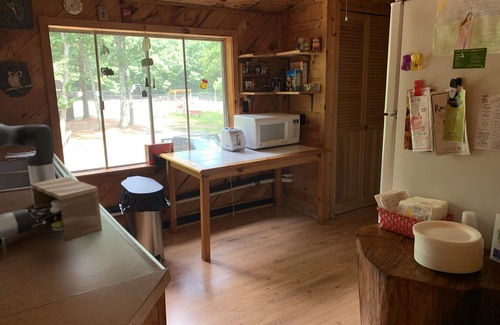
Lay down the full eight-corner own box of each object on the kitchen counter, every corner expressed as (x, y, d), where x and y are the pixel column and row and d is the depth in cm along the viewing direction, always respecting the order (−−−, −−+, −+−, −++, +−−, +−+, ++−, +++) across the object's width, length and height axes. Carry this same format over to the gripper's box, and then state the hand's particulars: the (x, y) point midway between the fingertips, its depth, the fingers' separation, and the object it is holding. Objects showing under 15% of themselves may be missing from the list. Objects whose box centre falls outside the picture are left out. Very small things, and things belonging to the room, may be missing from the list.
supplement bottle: (62, 231, 121) (58, 204, 119) (48, 230, 123) (44, 203, 120) (73, 225, 127) (69, 199, 125) (59, 224, 128) (56, 198, 126)
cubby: (37, 224, 128) (30, 183, 124) (70, 215, 137) (65, 176, 134) (66, 241, 114) (60, 196, 110) (102, 229, 123) (97, 187, 119)
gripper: (18, 217, 107) (75, 203, 120) (2, 207, 116) (56, 195, 129) (22, 241, 109) (77, 224, 122) (5, 229, 118) (58, 214, 131)
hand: (66, 209), depth 125 cm, fingers closed on supplement bottle, 5 cm apart
